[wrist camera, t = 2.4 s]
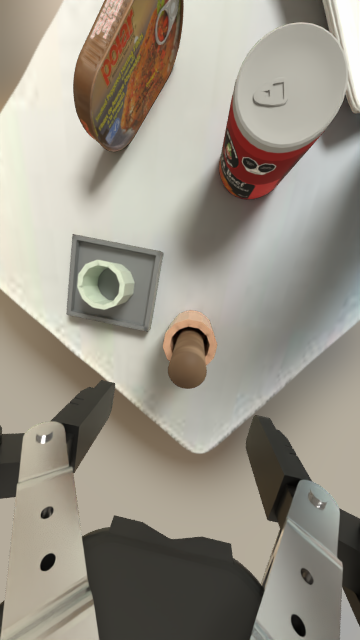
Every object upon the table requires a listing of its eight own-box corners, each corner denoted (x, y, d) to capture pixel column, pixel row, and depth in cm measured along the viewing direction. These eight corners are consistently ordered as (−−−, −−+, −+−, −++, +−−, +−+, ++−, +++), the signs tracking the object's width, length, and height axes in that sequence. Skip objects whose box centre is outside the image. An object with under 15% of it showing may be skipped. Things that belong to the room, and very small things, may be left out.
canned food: (209, 151, 25) (219, 58, 15) (272, 119, 24) (333, -8, 14) (230, 212, 27) (253, 168, 16) (292, 184, 25) (361, 115, 15)
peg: (204, 323, 29) (210, 357, 17) (199, 344, 30) (201, 392, 17) (182, 318, 29) (171, 349, 17) (178, 339, 30) (165, 384, 17)
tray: (163, 253, 28) (161, 251, 26) (150, 328, 31) (147, 331, 29) (80, 236, 29) (72, 234, 27) (73, 312, 31) (66, 314, 29)
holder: (136, 267, 28) (127, 265, 24) (130, 308, 29) (120, 313, 25) (96, 259, 28) (79, 256, 24) (91, 300, 29) (75, 303, 25)
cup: (215, 315, 29) (221, 326, 23) (206, 353, 31) (209, 375, 24) (175, 306, 30) (168, 315, 23) (167, 345, 31) (159, 364, 24)
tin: (117, 166, 27) (81, 116, 18) (97, 150, 26) (52, 92, 18) (187, 46, 24) (183, -79, 15) (166, 27, 23) (149, -110, 15)
